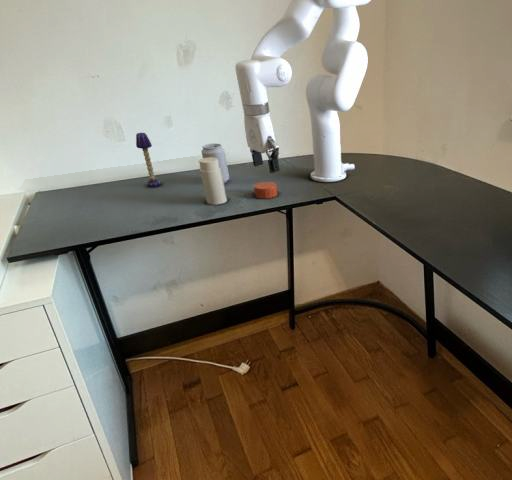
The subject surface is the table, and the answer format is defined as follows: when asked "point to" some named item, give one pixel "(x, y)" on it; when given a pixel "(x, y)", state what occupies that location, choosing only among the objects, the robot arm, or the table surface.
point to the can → (219, 153)
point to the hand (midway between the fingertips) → (266, 168)
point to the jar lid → (265, 190)
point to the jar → (212, 181)
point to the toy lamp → (147, 157)
